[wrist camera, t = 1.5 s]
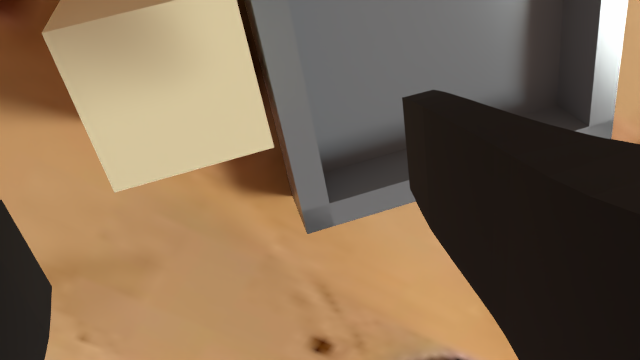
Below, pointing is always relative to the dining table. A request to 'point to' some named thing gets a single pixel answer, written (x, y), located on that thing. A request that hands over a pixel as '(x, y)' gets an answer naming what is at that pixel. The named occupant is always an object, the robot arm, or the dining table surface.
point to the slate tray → (420, 82)
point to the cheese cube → (159, 84)
